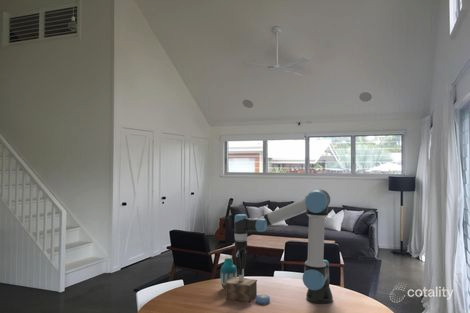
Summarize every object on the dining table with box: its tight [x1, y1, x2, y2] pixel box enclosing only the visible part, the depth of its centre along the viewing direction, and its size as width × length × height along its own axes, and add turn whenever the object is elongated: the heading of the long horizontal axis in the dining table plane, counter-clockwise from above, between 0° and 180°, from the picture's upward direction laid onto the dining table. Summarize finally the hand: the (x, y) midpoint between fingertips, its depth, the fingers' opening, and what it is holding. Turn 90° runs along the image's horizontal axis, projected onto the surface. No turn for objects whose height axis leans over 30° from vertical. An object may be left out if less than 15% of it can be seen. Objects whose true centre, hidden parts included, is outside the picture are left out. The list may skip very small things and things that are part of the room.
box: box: [225, 281, 258, 303], centre depth 218 cm, size 15×11×9 cm
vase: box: [220, 257, 238, 290], centre depth 234 cm, size 11×11×19 cm
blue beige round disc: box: [255, 294, 271, 305], centre depth 211 cm, size 8×8×3 cm
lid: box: [225, 276, 258, 289], centre depth 217 cm, size 16×13×2 cm
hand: (241, 279), depth 218 cm, fingers closed
